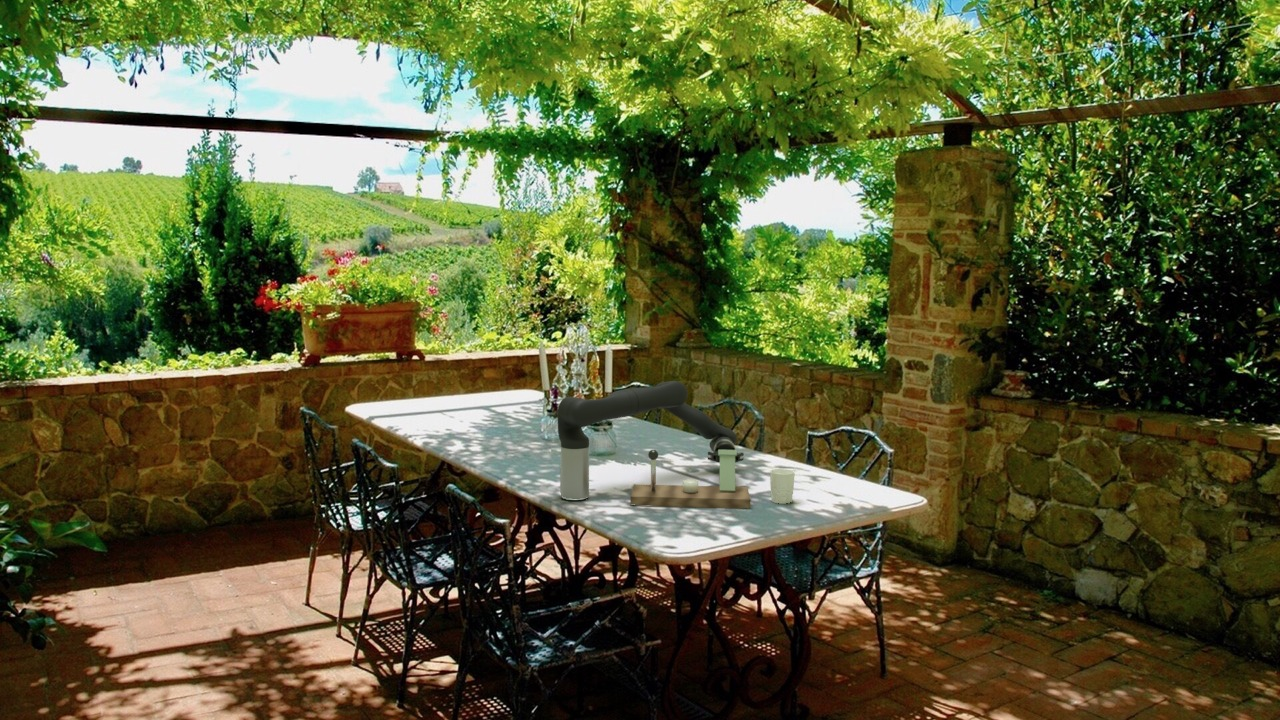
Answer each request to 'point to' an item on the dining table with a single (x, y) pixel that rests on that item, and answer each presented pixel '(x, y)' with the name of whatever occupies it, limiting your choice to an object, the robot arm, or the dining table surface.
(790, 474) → the white cup
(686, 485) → the ivory push button
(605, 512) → the dining table surface
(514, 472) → the dining table surface
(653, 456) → the steel toggle lever
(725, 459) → the sage-green paddle lever
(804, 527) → the dining table surface
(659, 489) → the walnut switch board
